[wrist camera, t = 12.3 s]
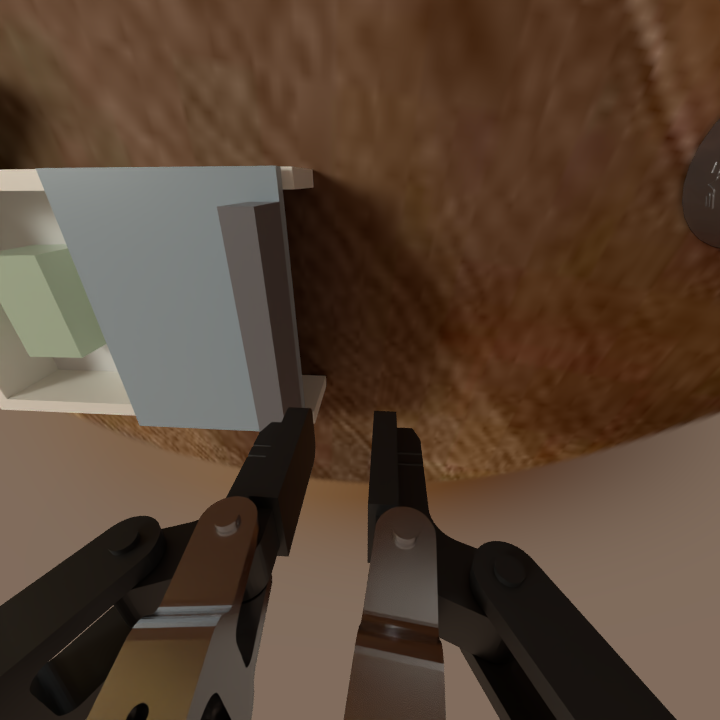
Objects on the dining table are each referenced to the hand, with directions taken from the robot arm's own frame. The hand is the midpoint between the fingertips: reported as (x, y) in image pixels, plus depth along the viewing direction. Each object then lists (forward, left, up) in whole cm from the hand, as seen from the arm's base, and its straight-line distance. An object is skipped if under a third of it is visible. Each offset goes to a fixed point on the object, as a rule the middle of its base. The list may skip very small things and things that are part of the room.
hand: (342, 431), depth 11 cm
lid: (+10, 0, -10) cm, 14 cm away
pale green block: (+22, 0, -15) cm, 26 cm away
